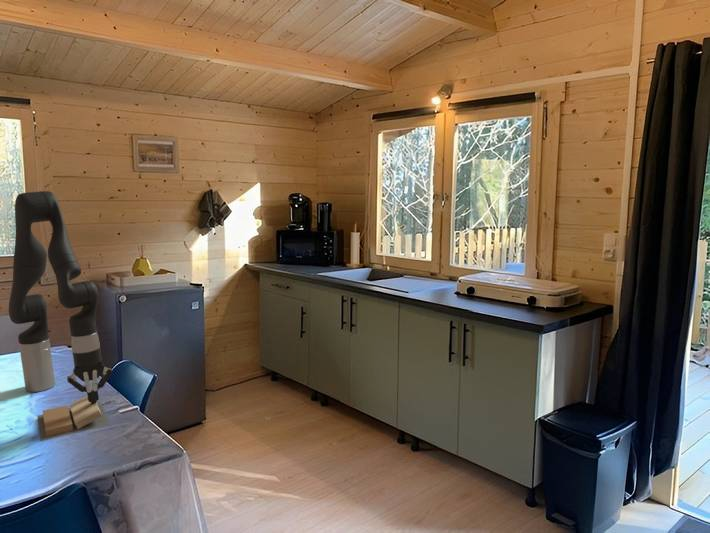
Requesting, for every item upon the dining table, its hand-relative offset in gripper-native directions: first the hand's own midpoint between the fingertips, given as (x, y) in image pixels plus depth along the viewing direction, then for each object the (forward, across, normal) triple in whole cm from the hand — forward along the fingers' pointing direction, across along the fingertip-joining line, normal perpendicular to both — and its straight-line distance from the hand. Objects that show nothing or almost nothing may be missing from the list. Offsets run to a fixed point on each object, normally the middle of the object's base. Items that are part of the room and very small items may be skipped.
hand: (93, 402), depth 170 cm
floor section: (+5, +6, 0) cm, 8 cm away
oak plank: (+3, +2, 0) cm, 4 cm away
